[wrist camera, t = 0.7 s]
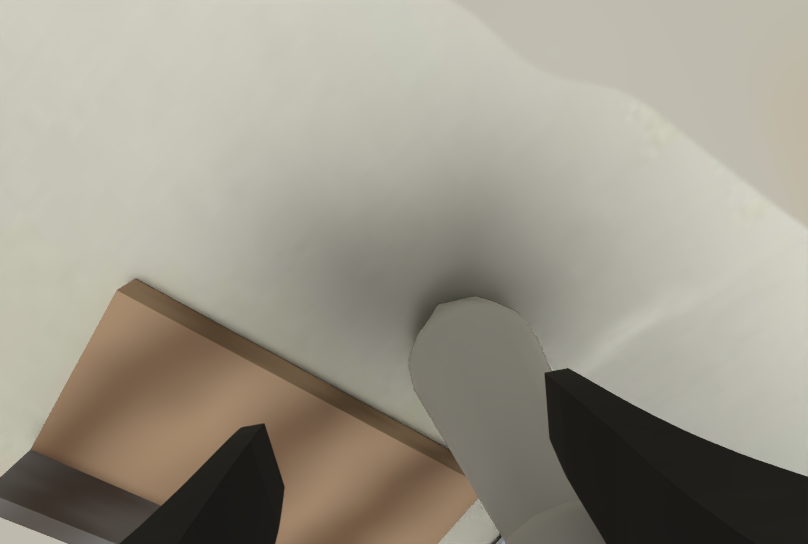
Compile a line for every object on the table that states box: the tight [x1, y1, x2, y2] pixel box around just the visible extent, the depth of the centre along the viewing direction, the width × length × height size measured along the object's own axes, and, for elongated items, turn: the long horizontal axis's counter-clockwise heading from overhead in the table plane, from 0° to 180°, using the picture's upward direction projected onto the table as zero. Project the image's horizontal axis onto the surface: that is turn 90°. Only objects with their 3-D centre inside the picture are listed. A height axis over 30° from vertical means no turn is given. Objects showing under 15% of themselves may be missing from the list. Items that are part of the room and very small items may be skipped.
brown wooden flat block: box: [0, 279, 478, 544], centre depth 21 cm, size 20×11×4 cm, turn 55°
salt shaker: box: [409, 296, 606, 544], centre depth 15 cm, size 6×6×13 cm
